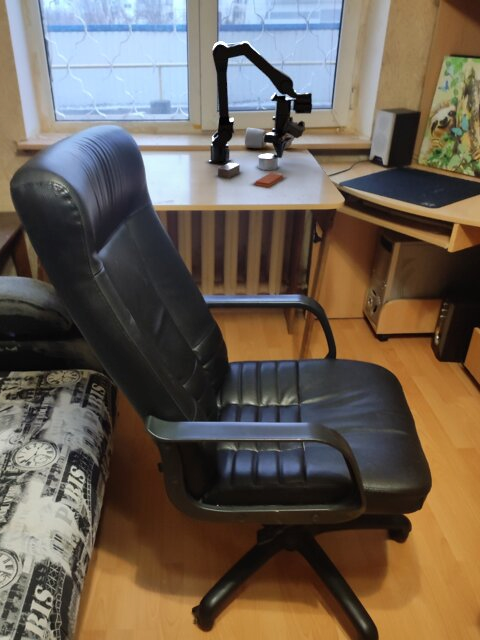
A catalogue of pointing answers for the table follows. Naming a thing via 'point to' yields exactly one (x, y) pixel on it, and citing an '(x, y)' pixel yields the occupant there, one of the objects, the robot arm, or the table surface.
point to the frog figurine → (289, 141)
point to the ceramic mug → (254, 138)
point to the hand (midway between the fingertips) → (279, 157)
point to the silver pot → (268, 162)
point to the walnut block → (228, 170)
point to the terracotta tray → (268, 180)
